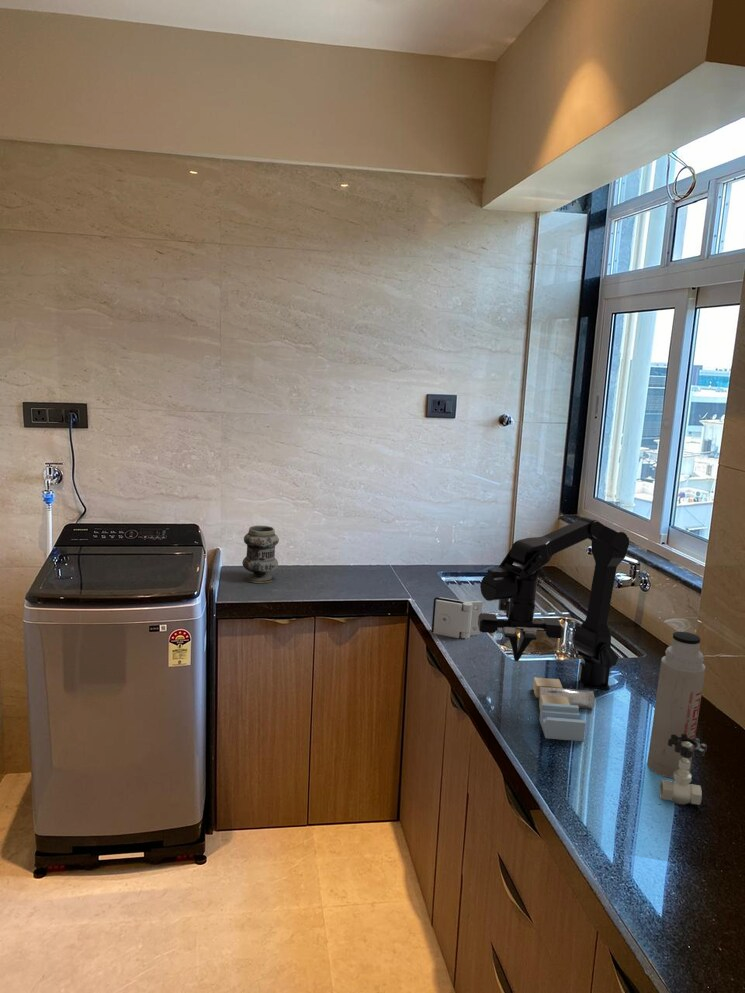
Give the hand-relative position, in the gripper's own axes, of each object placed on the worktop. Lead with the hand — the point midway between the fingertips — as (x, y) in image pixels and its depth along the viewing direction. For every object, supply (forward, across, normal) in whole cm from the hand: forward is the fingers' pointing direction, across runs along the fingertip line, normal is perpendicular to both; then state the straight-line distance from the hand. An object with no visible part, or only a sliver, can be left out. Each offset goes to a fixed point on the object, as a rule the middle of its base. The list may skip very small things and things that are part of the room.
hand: (516, 660), depth 173 cm
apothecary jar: (+10, +76, -78) cm, 110 cm away
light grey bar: (+10, -12, 0) cm, 16 cm away
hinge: (+10, +11, -40) cm, 43 cm away
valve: (+10, -26, +37) cm, 46 cm away
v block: (+10, -9, +13) cm, 19 cm away
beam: (+10, -9, 0) cm, 13 cm away
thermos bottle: (+10, -28, +25) cm, 39 cm away
